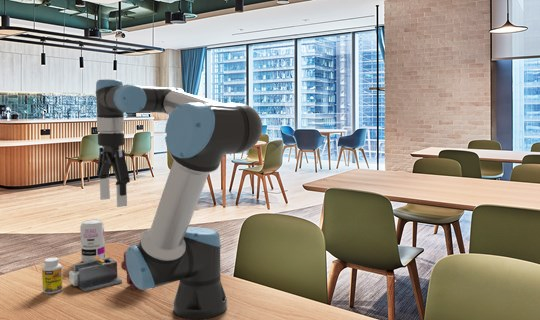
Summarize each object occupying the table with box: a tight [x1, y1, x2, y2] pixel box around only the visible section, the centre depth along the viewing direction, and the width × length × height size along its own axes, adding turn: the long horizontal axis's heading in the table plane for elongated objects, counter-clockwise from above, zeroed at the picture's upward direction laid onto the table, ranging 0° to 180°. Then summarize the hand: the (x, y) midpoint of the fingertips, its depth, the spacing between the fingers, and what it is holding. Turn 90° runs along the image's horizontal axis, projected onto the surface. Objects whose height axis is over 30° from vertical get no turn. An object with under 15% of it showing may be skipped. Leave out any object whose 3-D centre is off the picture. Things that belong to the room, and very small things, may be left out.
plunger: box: [68, 256, 105, 287], centre depth 150 cm, size 7×11×6 cm, turn 130°
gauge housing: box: [73, 257, 123, 293], centre depth 151 cm, size 14×12×6 cm
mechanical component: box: [120, 251, 138, 291], centre depth 146 cm, size 12×10×10 cm
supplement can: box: [79, 219, 106, 263], centre depth 171 cm, size 8×8×15 cm
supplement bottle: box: [41, 257, 63, 295], centre depth 142 cm, size 6×6×10 cm
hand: (113, 202), depth 137 cm, fingers open, 13 cm apart
